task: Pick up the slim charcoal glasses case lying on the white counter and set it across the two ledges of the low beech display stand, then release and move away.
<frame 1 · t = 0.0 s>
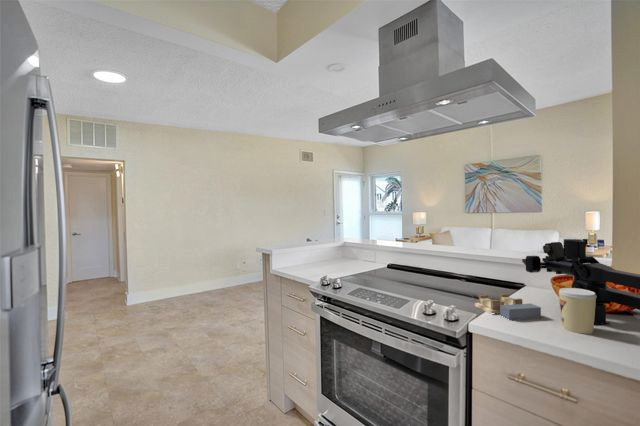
hand: (532, 259, 132), 17 cm above the counter, tool horizontal, fingers open, 9 cm apart
display stand: (500, 308, 122), on the counter
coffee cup: (577, 329, 101), on the counter
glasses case: (520, 317, 113), on the counter
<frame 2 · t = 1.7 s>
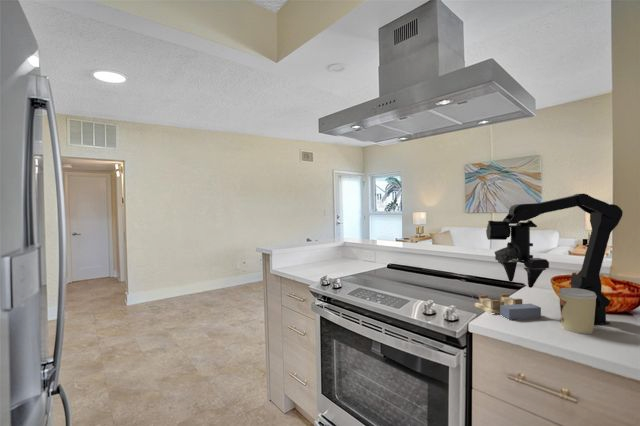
hand: (520, 284, 113), 11 cm above the counter, tool pointing down, fingers open, 9 cm apart
nothing on the counter moved.
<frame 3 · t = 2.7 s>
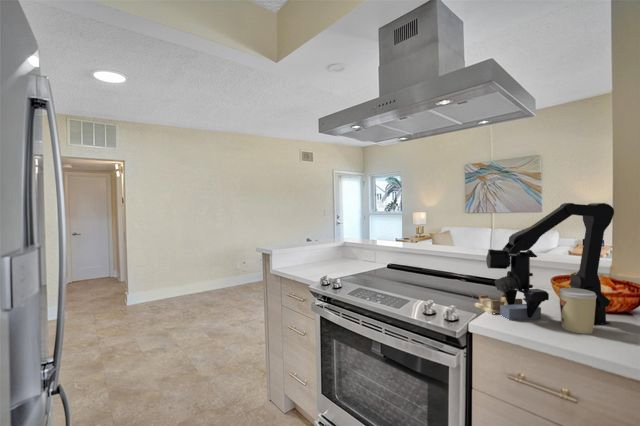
hand: (520, 313, 113), 1 cm above the counter, tool pointing down, fingers open, 8 cm apart
nothing on the counter moved.
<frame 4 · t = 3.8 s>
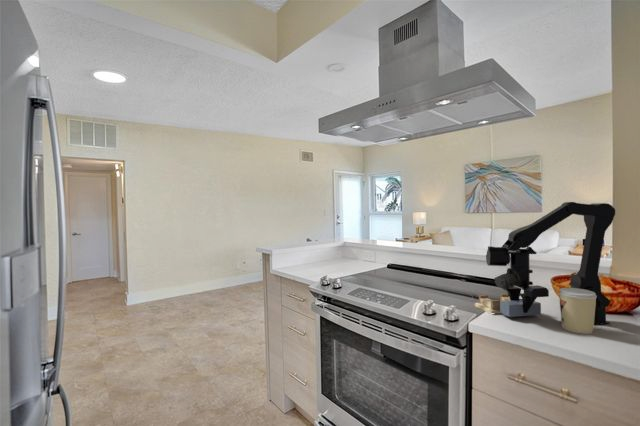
hand: (520, 310, 113), 2 cm above the counter, tool pointing down, fingers closed on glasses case, 4 cm apart
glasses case: (520, 313, 113), point 1 cm above the counter, touching gripper
everything else where it was.
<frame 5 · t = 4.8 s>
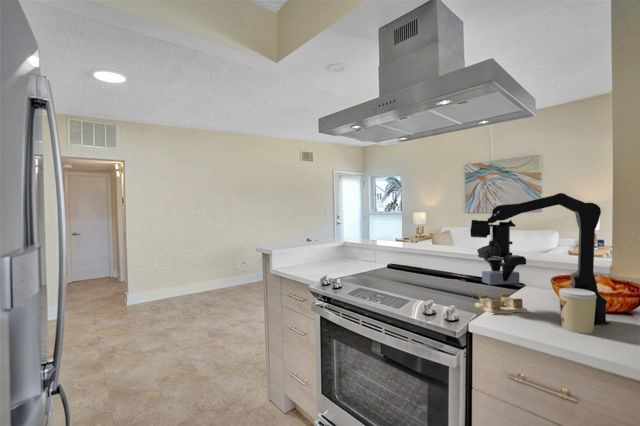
hand: (500, 279, 121), 11 cm above the counter, tool pointing down, fingers closed on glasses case, 4 cm apart
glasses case: (500, 282, 121), point 10 cm above the counter, touching gripper
everything else where it was.
when the fingers open (5 cm above the counter, at t = 6.2 s): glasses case stays where it is, resting on display stand.
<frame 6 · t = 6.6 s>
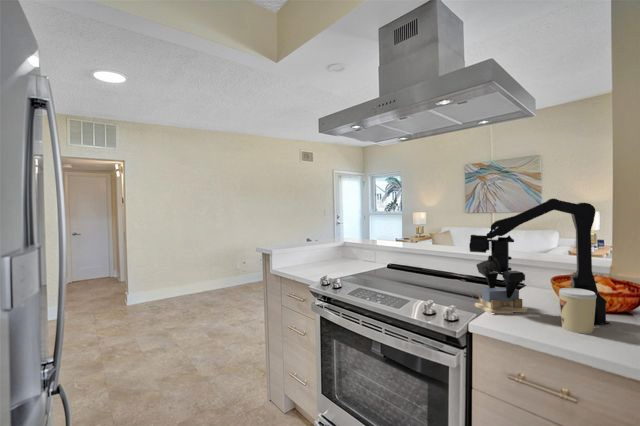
hand: (500, 294, 122), 5 cm above the counter, tool pointing down, fingers open, 9 cm apart
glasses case: (500, 299, 122), point 3 cm above the counter, touching display stand
everything else where it was.
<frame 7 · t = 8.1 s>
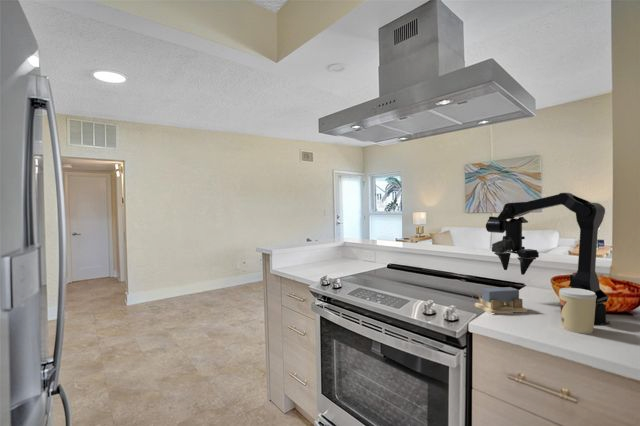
hand: (513, 272, 130), 12 cm above the counter, tool pointing down, fingers open, 9 cm apart
nothing on the counter moved.
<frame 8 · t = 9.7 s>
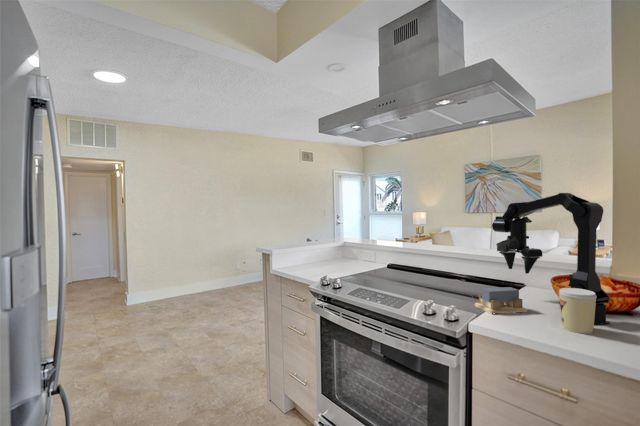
hand: (518, 271, 132), 12 cm above the counter, tool pointing down, fingers open, 9 cm apart
nothing on the counter moved.
at the end: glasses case 0.0 cm off-centre on the display stand, point 3.5 cm above the display stand's base; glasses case tilted 0°; the gripper is holding nothing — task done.
